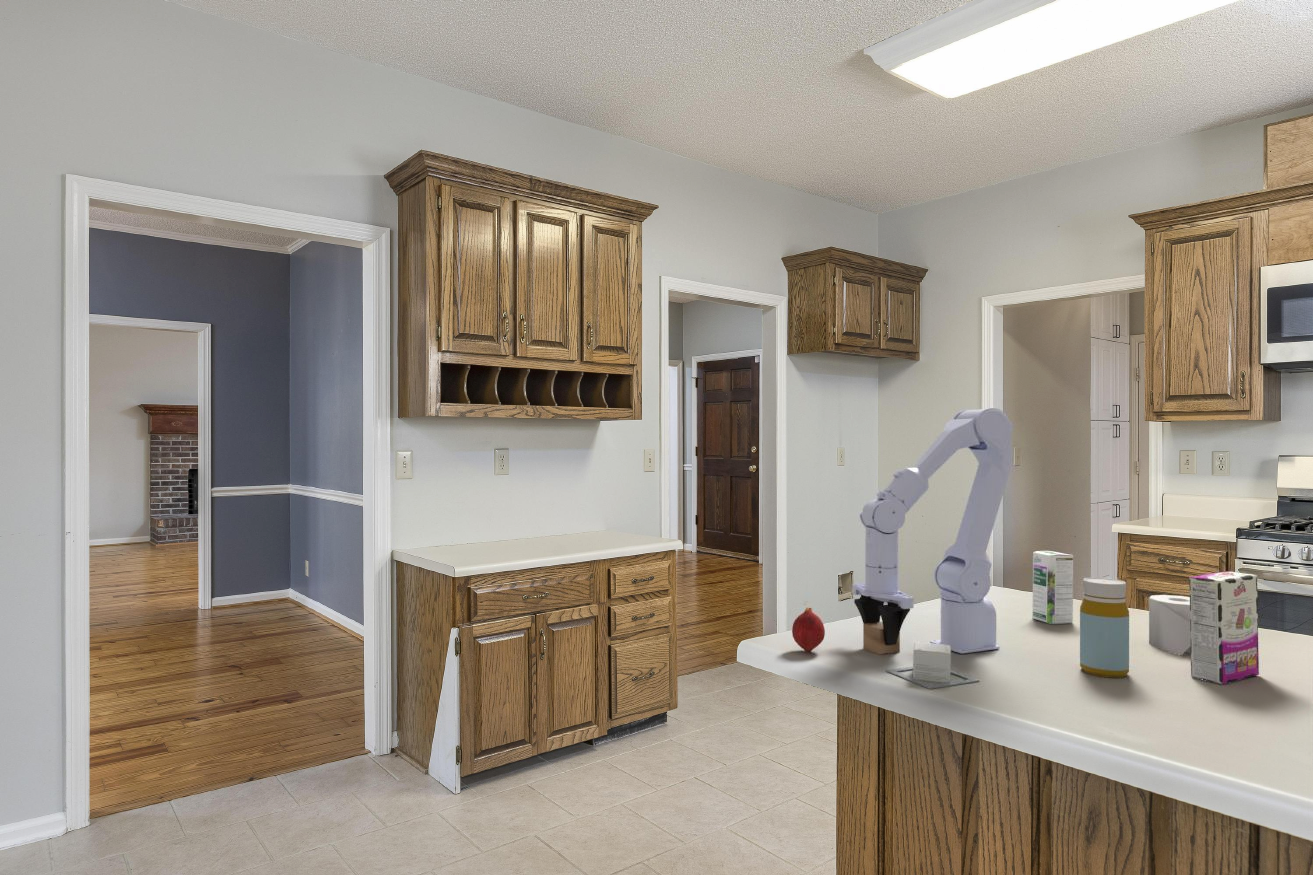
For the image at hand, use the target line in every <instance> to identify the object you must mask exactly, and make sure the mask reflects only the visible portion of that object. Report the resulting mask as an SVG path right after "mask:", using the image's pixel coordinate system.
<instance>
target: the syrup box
mask: <svg viewBox="0 0 1313 875" xmlns="http://www.w3.org/2000/svg"><path fill="white" fill-rule="evenodd" d="M1073 612H1074V554H1067V553H1062V552H1058V551H1051V550H1037V551H1033V553H1032V613H1031V617H1032V620H1037V621H1041V622H1043V623H1046V624H1049V625H1061V624H1062V625H1063V624H1073V622H1074V620H1073V619H1074V617H1073V616H1074V615H1073V614H1074V613H1073Z"/></svg>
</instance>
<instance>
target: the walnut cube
mask: <svg viewBox="0 0 1313 875" xmlns="http://www.w3.org/2000/svg"><path fill="white" fill-rule="evenodd" d="M862 624H863V623H862ZM862 627H863V630H862V631H863V634H862V635H863V640H862V641H863V642H862V644H863V645H862V646H863V647H862V648H863V649H865V650H867V651H869V652H872V653H874V654H876V655H877V654H878V655H886V654H885V653H888V654H896V653H900V650H901V644H900V643H901V640H900V639H901V631H900V632H899V636H898V640H897V644H896V645H885V642H884V633H883V623H882V621H880V622H874V623H865V624H863V625H862Z"/></svg>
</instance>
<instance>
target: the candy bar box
mask: <svg viewBox="0 0 1313 875" xmlns="http://www.w3.org/2000/svg"><path fill="white" fill-rule="evenodd" d="M1188 579H1189V584H1188V585H1189V597H1190V629H1191V630H1190V637H1191V652H1190V676H1191V677H1192V678H1194V679H1196V678H1199V679H1198V680H1200V679H1203V680H1202V681H1204V680H1206V681H1205V682H1209V683H1213V682H1214V684H1217V683H1218V685H1226V683H1227V684H1230V683H1229V682H1231V683H1233V682H1238V681H1241V680H1245V678H1246V679H1249V678H1252V677H1256V676H1258V675H1260V671H1259V670H1260V669H1259V668H1260V666H1259V665H1260V662H1259V657H1260V656H1259V653H1260V652H1259V617H1258V616H1259V612H1258V611H1259V610H1258V606H1259V605H1258V575H1257V574H1252V573H1245V572H1239V571H1237V572H1236V571H1221V572H1213V573H1207V574H1201V575H1195V576H1189V578H1188Z"/></svg>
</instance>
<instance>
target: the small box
mask: <svg viewBox="0 0 1313 875" xmlns="http://www.w3.org/2000/svg"><path fill="white" fill-rule="evenodd" d="M913 646H914V647H913V658H912V659H913V660H912V661H913V662H912V667H913V670H912V678H914V679H916V680H918V681H921V682H925V681H926V682H933V683H940V684H942V683H948V682H951V673H950V670H952V669H951V665H952V650H951V647H950V645H945V644H934V643H930V642H923V641H914V644H913Z"/></svg>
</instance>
